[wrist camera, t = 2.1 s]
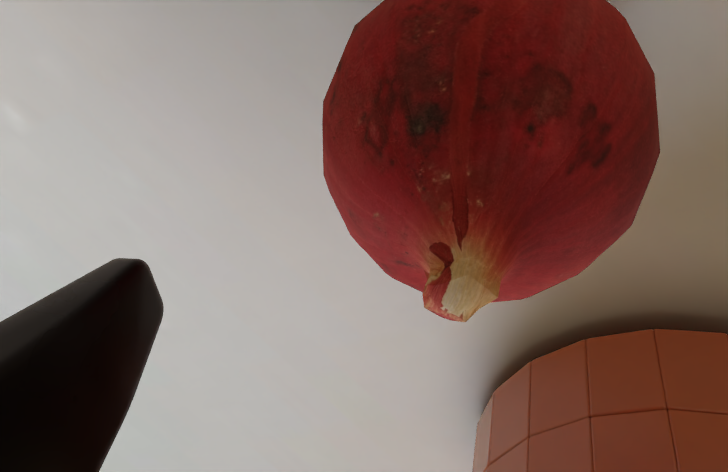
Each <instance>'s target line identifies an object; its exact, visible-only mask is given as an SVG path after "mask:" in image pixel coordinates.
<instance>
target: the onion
mask: <svg viewBox="0 0 728 472" xmlns="http://www.w3.org/2000/svg"><path fill="white" fill-rule="evenodd" d="M659 154H660V144H659V128H658V115H657V102H656V89H655V76H654V72H653V70H652V68H651V67H650V65H649V63H648V61H647V59H646V57H645V55H644V53H643V51H642V49H641V47H640V46H639V44H638V42H637V40H636V38H635V36H634V34H633V32H632V30H631V28H630V26H629V25H628V23H627V21H626V19H625V18H624V17H623V16H622V14H621V13H620V12H619V11H618V10H617V9H616V8H615V7H614V6H612V5H611V4H610V3H608V2H607V1H606V0H384V1H383V2H382V3H381V4H380V5H378V6H377V7H376V8H375V9H374V10H373V11H371V12H370V13H369V14H368V15H367V16H366V17H364V18H363V19H362V20H361V21H360V22H359V23H357V24H356V25H355V27H354V29H353V31H352V34H351V36H350V38H349V40H348V43H347V45H346V47H345V50H344V52H343V55H342V57H341V60H340V62H339V64H338V67H337V69H336V72H335V74H334V77H333V79H332V82H331V84H330V86H329V89H328V91H327V94H326V96H325V99H324V101H323V165H324V177H325V180H326V183H327V186H328V189H329V191H330V194H331V196H332V198H333V200H334V202H335V204H336V206H337V208H338V210H339V212H340V214H341V216H342V218H343V220H344V222H345V224H346V226H347V229H348V231H349V233H350V235H351V236H352V237H353V238H354V239H355V241H356V242H357V243H358V244H359V245H360V246H361V247H362V248H363V249H364V250H365V251H366V252H367V253H368V254H369V255H370V257H371V258H372V259H373V260H374V261H375V262H376V263H377V264H378V265H379V266H380V267H381V268H382V269H383V271H384V272H385V273H387V274H388V275H389V276H391V277H392V278H394V279H396V280H398V281H400V282H402V283H404V284H406V285H409V286H411V287H413V288H415V289H417V290H419V291H421V292H423V301H424V308H426V309H428V310H429V311H431V312H433V313H435V314H437V315H439V316H440V317H443V318H446V319H449V320H452V321H461V322H466V321H467V320H468V319H469V318H470V317H471V316H472V315H473V314H474V313H475V312H476V311H477V310H478V309H479V308H481V307H483V306H485V305H486V304H488V303H490V302H499V301H510V300H520V299H524V298H528V297H530V296H532V295H535V294H537V293H539V292H541V291H543V290H545V289H548V288H550V287H552V286H554V285H556V284H558V283H561V282H563V281H565V280H567V279H569V278H571V277H574V276H576V275H578V274H579V273H580V272H582V271H583V270H584V269H585V268H587V267H588V266H589V265H590V264H591V263H592V262H593V261H594V260H595V259H596V258H597V257H598V256H599V255H601V254H602V253H603V252H604V251H605V250H606V249H607V248H608V247H610V246H611V245H612V244H613V243H614V242H615V241H616V240H618V239H619V238H620V237H621V236H622V234H623V233H624V232H625V231H626V230H627V229H628V228H629V227H630V226H631V225H632V223H633V221H634V218H635V216H636V213H637V211H638V208H639V206H640V204H641V201H642V199H643V196H644V194H645V191H646V189H647V186H648V184H649V181H650V179H651V176H652V174H653V171H654V168H655V165H656V162H657V160H658V157H659Z"/></svg>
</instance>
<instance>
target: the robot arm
mask: <svg viewBox="0 0 728 472" xmlns="http://www.w3.org/2000/svg"><path fill="white" fill-rule="evenodd" d="M162 317H163V302H162V299H161V296H160V294H159V291H158V289H157V286H156V284H155V281H154V278H153V276H152V273H151V271H150V268H149V266H148V265H147V264H146V263H145V262H144V261H143V260H140V259H127V258H118V259H114V260H112V261H110V262H108V263H106V264H104V265H103V266H101V267H99V268H97V269H95V270H94V271H92V272H90V273H88V274H86V275H85V276H83V277H81V278H79V279H77V280H75V281H74V282H72V283H70V284H68V285H66V286H65V287H63V288H61V289H59V290H57V291H56V292H54V293H52V294H50V295H48V296H47V297H45V298H43V299H41V300H39V301H37V302H36V303H34V304H32V305H30V306H28V307H27V308H25V309H23V310H21V311H19V312H18V313H16V314H14V315H12V316H10V317H9V318H7V319H5V320H3V321H1V322H0V472H99V470H100V468H101V466H102V464H103V462H104V460H105V458H106V456H107V454H108V452H109V450H110V448H111V446H112V444H113V442H114V439H115V437H116V435H117V433H118V431H119V429H120V427H121V425H122V423H123V421H124V419H125V416H126V414H127V412H128V410H129V407H130V405H131V402H132V400H133V397H134V395H135V392H136V389H137V387H138V384H139V381H140V378H141V376H142V373H143V370H144V367H145V365H146V362H147V359H148V356H149V354H150V351H151V348H152V345H153V343H154V340H155V337H156V334H157V332H158V329H159V326H160V323H161V321H162Z"/></svg>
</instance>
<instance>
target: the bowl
mask: <svg viewBox="0 0 728 472" xmlns="http://www.w3.org/2000/svg"><path fill="white" fill-rule="evenodd" d="M472 472H728V334H727V335H726V333H719V332H703V331H688V330H672V329H654V330H652V329H646V330H640V331H633V332H626V333H620V334H613V335H606V336H600V337H593V338H588V339H586V340H585V339H584V340H581V341H578V342H576V343H573V344H571V345H568V346H566V347H563V348H561V349H558V350H556V351H553V352H551V353H548V354H546V355H543V356H541V357H539V358H536V359H534V360H532V361H530V362H528V363H527V364H526V365H525V366H523V367H522V368H521V369H520V370H519V371H517V372H516V373H515V374H514V375H513V376H511V377H510V378H509V379H508V380H506V381H505V382H504V383H503V384H502V385H500V386H499V387H498V388H497V389H496V390H495V391H494V392H493V394H492V396H491V398H490V400H489V402H488V404H487V406H486V408H485V410H484V412H483V414H482V416H481V418H480V420H479V422H478V426H477V432H476V442H475V451H474V461H473V471H472Z"/></svg>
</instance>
